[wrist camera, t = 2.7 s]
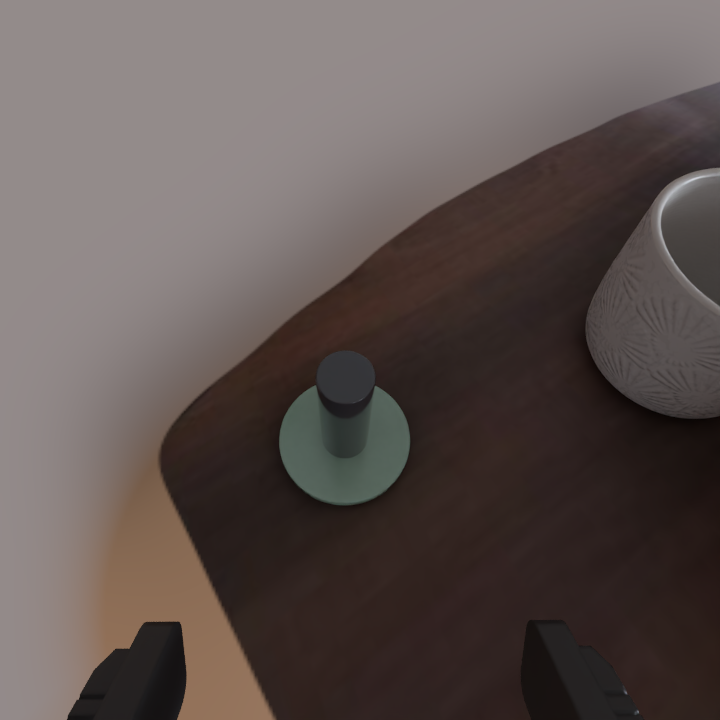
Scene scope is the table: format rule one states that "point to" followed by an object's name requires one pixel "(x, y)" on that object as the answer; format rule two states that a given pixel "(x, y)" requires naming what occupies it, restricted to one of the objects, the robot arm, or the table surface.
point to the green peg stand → (344, 434)
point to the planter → (665, 304)
